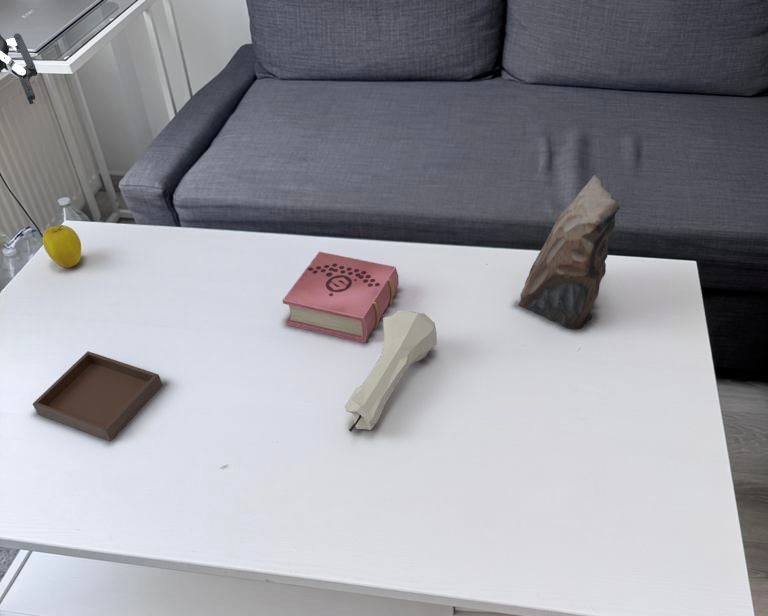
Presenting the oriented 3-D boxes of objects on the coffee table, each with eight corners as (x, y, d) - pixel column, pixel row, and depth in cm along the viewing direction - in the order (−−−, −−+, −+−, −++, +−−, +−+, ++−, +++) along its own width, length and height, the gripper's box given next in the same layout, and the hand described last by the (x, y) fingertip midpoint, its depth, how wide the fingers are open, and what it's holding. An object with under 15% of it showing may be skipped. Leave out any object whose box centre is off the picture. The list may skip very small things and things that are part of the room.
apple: (92, 265, 139) (77, 226, 133) (59, 278, 137) (42, 239, 131) (81, 249, 143) (65, 211, 136) (49, 261, 141) (31, 222, 134)
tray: (38, 414, 116) (32, 403, 114) (92, 361, 123) (87, 350, 121) (110, 441, 111) (105, 430, 110) (162, 385, 118) (158, 374, 117)
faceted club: (451, 342, 120) (385, 454, 108) (405, 340, 124) (336, 447, 112) (437, 296, 114) (365, 409, 101) (389, 296, 118) (315, 404, 106)
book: (369, 343, 122) (368, 319, 118) (286, 324, 126) (282, 300, 122) (401, 292, 130) (400, 267, 126) (322, 275, 134) (319, 251, 130)
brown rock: (569, 275, 131) (590, 164, 115) (622, 311, 125) (652, 198, 109) (515, 303, 127) (528, 192, 111) (567, 341, 120) (589, 229, 105)
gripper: (-87, 5, 120) (-44, 108, 122) (4, -13, 123) (44, 87, 126) (-72, 31, 127) (-31, 127, 130) (13, 13, 130) (51, 107, 133)
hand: (6, 107), depth 128 cm, fingers open, 8 cm apart
